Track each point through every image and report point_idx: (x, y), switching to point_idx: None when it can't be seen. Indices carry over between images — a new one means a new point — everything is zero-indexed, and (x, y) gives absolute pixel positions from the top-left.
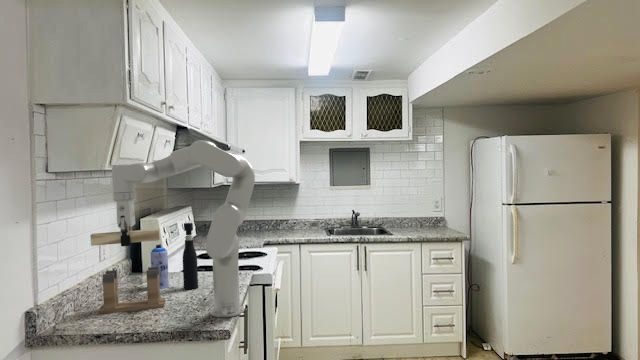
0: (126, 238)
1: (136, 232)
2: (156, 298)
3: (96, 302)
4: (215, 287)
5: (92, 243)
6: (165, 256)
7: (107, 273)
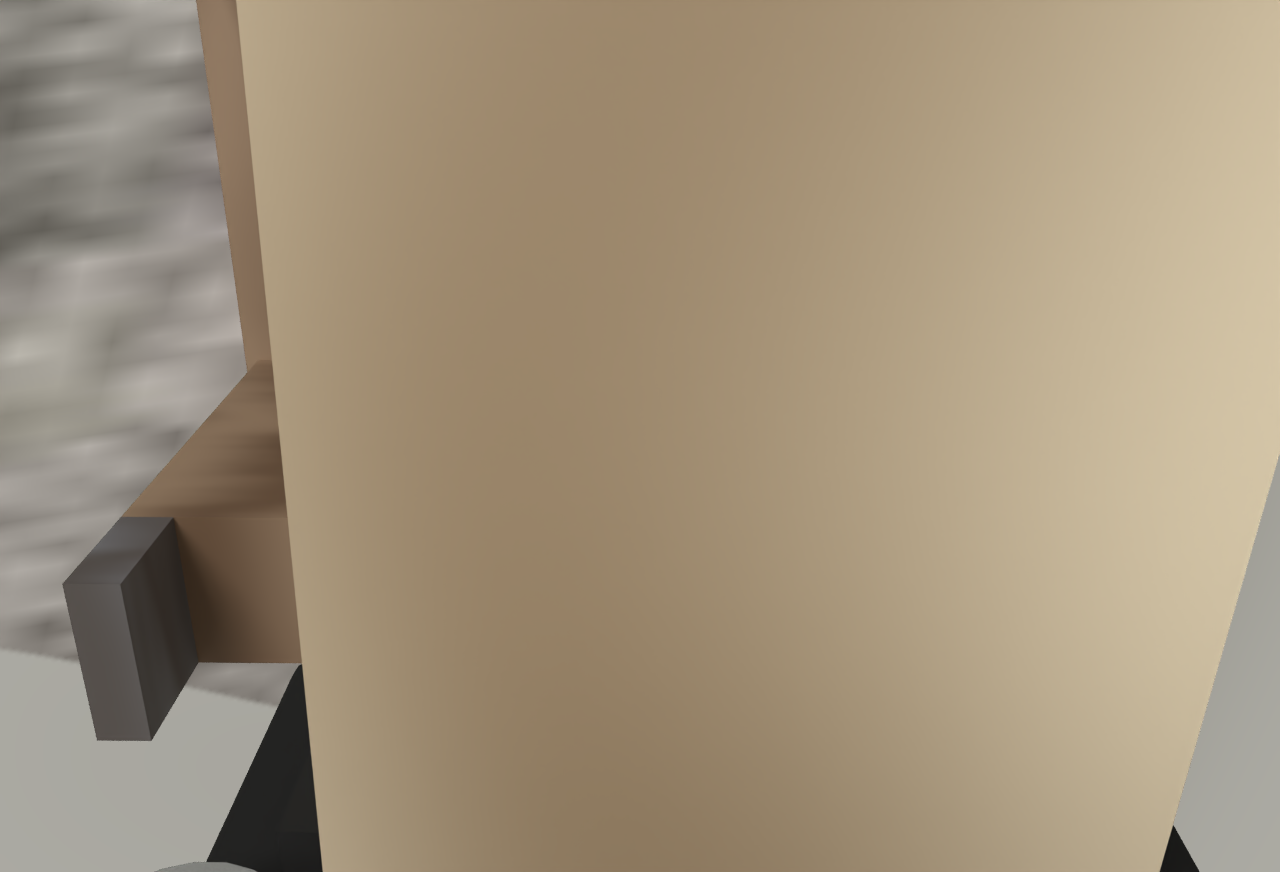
0: (1179, 866)
1: (1195, 585)
2: None
3: (22, 612)
4: None
5: None
6: None
7: (160, 691)
